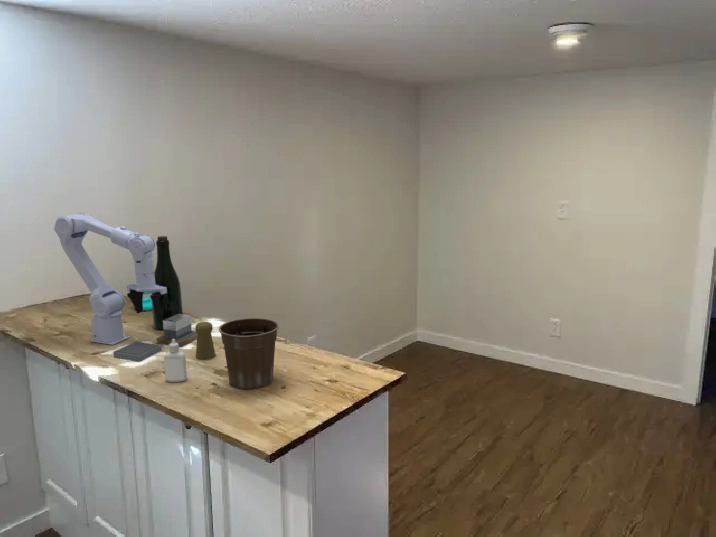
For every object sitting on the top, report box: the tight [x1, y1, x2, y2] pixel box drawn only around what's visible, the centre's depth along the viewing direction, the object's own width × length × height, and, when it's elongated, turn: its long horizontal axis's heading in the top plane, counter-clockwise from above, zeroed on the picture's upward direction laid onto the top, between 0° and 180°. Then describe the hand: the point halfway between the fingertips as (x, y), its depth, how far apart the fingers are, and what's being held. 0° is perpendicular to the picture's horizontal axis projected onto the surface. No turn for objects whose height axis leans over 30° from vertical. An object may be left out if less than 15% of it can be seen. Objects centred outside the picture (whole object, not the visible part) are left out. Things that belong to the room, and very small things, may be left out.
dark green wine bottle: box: [150, 235, 184, 331], centre depth 202 cm, size 10×10×33 cm
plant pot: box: [218, 317, 280, 390], centre depth 157 cm, size 16×16×16 cm
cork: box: [194, 321, 216, 361], centre depth 176 cm, size 6×6×11 cm
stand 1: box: [113, 341, 163, 363], centre depth 178 cm, size 10×10×2 cm
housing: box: [163, 313, 193, 340], centre depth 190 cm, size 5×8×6 cm, turn 159°
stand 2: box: [156, 330, 197, 348], centre depth 191 cm, size 10×10×2 cm
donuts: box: [133, 292, 152, 311], centre depth 227 cm, size 10×10×10 cm
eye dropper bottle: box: [163, 339, 188, 383], centre depth 158 cm, size 4×6×12 cm
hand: (149, 313), depth 186 cm, fingers open, 7 cm apart
